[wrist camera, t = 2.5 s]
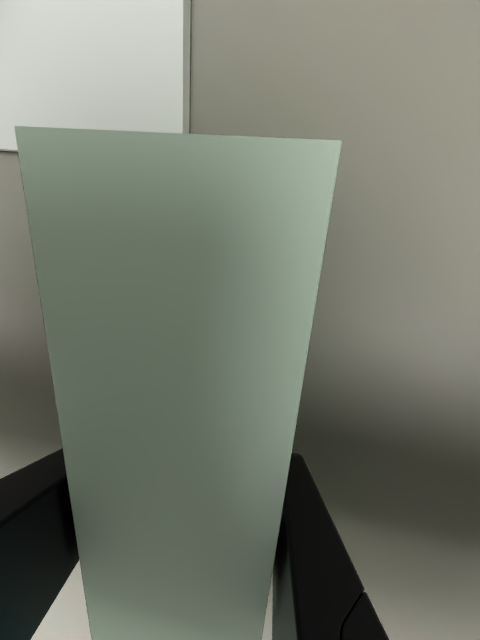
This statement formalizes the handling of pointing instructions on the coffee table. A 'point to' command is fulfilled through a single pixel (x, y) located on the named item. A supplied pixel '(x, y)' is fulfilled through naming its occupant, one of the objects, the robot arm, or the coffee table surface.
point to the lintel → (176, 359)
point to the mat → (94, 65)
